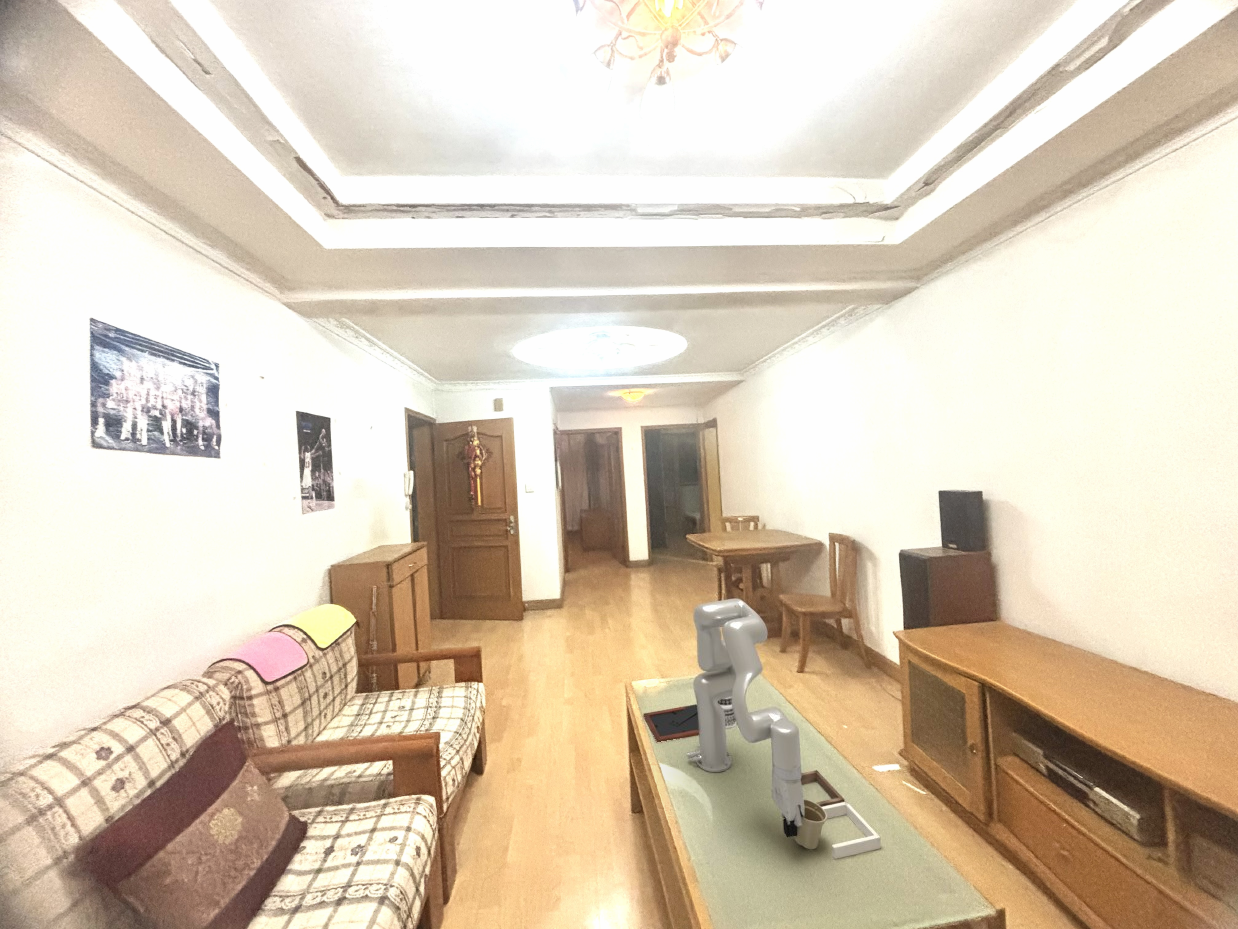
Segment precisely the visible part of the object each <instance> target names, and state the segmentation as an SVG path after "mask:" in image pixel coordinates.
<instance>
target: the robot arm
mask: <svg viewBox="0 0 1238 929" xmlns="http://www.w3.org/2000/svg"><path fill="white" fill-rule="evenodd" d="M692 616H693V623H694V626H695V629H696V647H697V648H696V649H697V650H696V654H697V655H696V656H697V658H696V659H697V665H698V667H699V668H700V670H701V671H703V672H701V673H699V674H698V675H696V676H695V677H694V679H693V682H692V686H693V691H694V696H695V700H696V702H695V703H696V704H697V711H698V726H699V735H698V742H699V744H698V745H699V746H698V745H697V746H696V748H697V749H695V750H694V751H689V752H686V757H687V759H688V760H689V759H692V761H693V762H694V763H695V762H696V764H697V766H698V767H700V769H702V770H703V771H706V772H709V773H722V772H725V771H727V770H729V768H731V766H732V764H733V758H732V756H731V754H730V753H729V752H728V748H727V747H728V746H727V744H728V743H727V728H726V726H725V713H724V710H723V708H722V707H721V705H720V704H719V703H718V701H719V700H721V699H724V698H727V697H731V696H732V709H733V713H734V716H735V719H736V725H737V727H738V730H739V732H740V735H741V736H742V737H743V739H744V740H745V741H746V742H748V743H751V744H755V743H759V742H762V741H766V740H769V739H770V745H771V746H770V748H771V762H772V763H771V764H772V770H771V798H772V800H773V802H774V803H775V805H776V807H777V808H778V809H779V810H780V812H781V816H782V827H783V829H782V830H783V833H784V835H785V837H786V838H792V837H793V838H794V836H797V827H798V826H802V822H801V817H802V818H804V815H805V808H804V799H805V798H804V792H803V784H801V780H800V779H801V777H802V774H801V773H802V763H801V762H802V760H801V757H802V756H801V743H800V730H799V727H798V726H797V724H796V723H795V722H793V721H791V720H789V718H788V717H787V715H785V713H784V711H782V710H781V709H780V708H779V707H777V706H769V707H766V708H761V709H758V710H754V711H749V709H748V706H747V702H746V698H747V690H748V688H749V686H750V684H751V683H752V682H753V680H755V679H756V678H757V677H758V676H759V675H761V674H762V672H763V670H764V667H763V664H762V661H761V659H760V656H759V653H758V650H757V648H756V645H755V644H759V643H760V644H761V643H763V642H765V641H766V640H767V638H768V633H769V632H768V628H767V625H766V624H765V622H764V620H763V619H762V617H761V616H760V615H759V614H758V613H757V612H756V611H755V610H754V609H752V608H751V607H750V606H749V605H748V604H747V603H746V602H745V601H743V600H742V599H740V598H730V599H724V600H716V601H711V602H710V601H709V602H705V603H701V604H698V605H697V606H695V608H694V610H693V615H692ZM721 628H722V629H721Z"/></svg>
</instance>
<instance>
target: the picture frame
mask: <svg viewBox="0 0 1238 929" xmlns="http://www.w3.org/2000/svg"><path fill="white" fill-rule="evenodd" d="M642 715H643V718H644V720H645V722H646V724H647V726H648V728H649V731H650V732H651V734H652V733H653V734H652V735H654V736H653V738H654V737H655V738H654V740H655V739H656V740H655V742H656V741H657V742H661V741H666V742H668V741H667V740H671V741H674V740H673V739H676V740H680V738H682V739H687V738H691V737H696V736H698V737H699V726H698V711H697V703H696V704H691V705H684V706H680V707H674V708H673V707H672V708H668V709H663V710H662V709H661V710H657V711H651V712H650V711H649V712H645V713H643V714H642ZM657 742H656V743H657ZM661 743H662V742H661Z"/></svg>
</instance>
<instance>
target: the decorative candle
mask: <svg viewBox="0 0 1238 929" xmlns="http://www.w3.org/2000/svg"><path fill="white" fill-rule="evenodd" d="M718 703H719V704H720V705H721V707H722V708H723V710H724V713H725V726H726V729H731V728H734V727H735V726H736V725H737V722H736V719H735V716H734V713H733V709H732V696H731V697H727V698H724V699H721V700H719V701H718Z"/></svg>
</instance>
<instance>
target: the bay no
mask: <svg viewBox="0 0 1238 929" xmlns="http://www.w3.org/2000/svg"><path fill="white" fill-rule="evenodd" d="M801 774H802V777H801V779H800V780H801V784H802V785H806V784H811V783H812V784H813V783H817V784H818V785H819V786H820V787H821V788H822V790H824V791H825V793H826V794H827V795H828V796H829V797H830V798H831V799H827V800H826V799H825V800H823V801H818V802H815V803H816V804H818V805H819V806H821V807H824V806H828V805H833V804H837V803H842V802H846V801H845V798H844V797H843V796H842V795H841V794H840V793H839V792H838V790H837V789H836V788H834V786H833V785H832V784H831V783H829V781H828V780H827V779H826V778H825V777H824V776H823V775H822V774H821V773H820V772H819V770H817V769H816V770H811V771H806V772H801Z"/></svg>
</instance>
